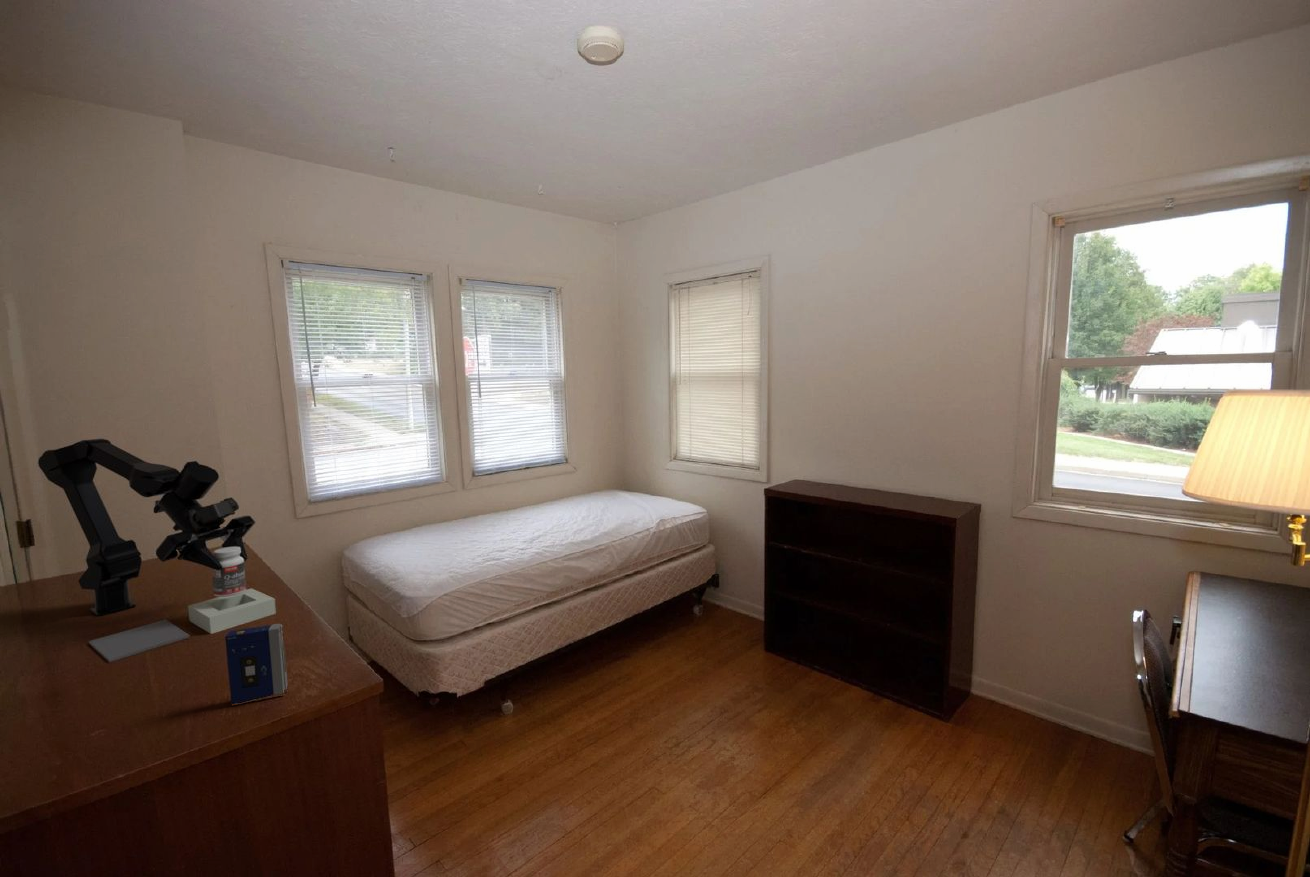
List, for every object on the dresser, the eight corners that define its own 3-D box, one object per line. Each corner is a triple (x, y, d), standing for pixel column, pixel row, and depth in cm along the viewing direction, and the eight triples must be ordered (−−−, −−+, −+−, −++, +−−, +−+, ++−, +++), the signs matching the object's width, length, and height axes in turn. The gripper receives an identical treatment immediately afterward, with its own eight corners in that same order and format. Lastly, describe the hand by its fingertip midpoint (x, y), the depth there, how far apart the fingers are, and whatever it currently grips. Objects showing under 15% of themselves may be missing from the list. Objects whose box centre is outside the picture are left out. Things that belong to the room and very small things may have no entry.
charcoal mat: (88, 643, 110) (88, 641, 110) (165, 621, 120) (165, 619, 120) (109, 662, 103) (108, 659, 102) (189, 637, 113) (189, 634, 112)
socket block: (189, 621, 120) (188, 605, 120) (252, 602, 130) (251, 588, 130) (211, 634, 114) (209, 617, 114) (275, 613, 124) (274, 598, 124)
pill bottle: (228, 598, 118) (224, 554, 117) (207, 597, 119) (203, 552, 118) (252, 589, 124) (249, 546, 123) (232, 587, 125) (228, 545, 124)
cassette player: (230, 707, 88) (224, 635, 86) (235, 699, 90) (228, 629, 89) (285, 696, 91) (279, 626, 89) (288, 689, 93) (282, 621, 92)
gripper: (162, 497, 111) (212, 553, 110) (245, 481, 129) (289, 529, 128) (133, 533, 113) (183, 588, 112) (220, 512, 131) (262, 560, 130)
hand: (233, 564), depth 121 cm, fingers closed on pill bottle, 6 cm apart
